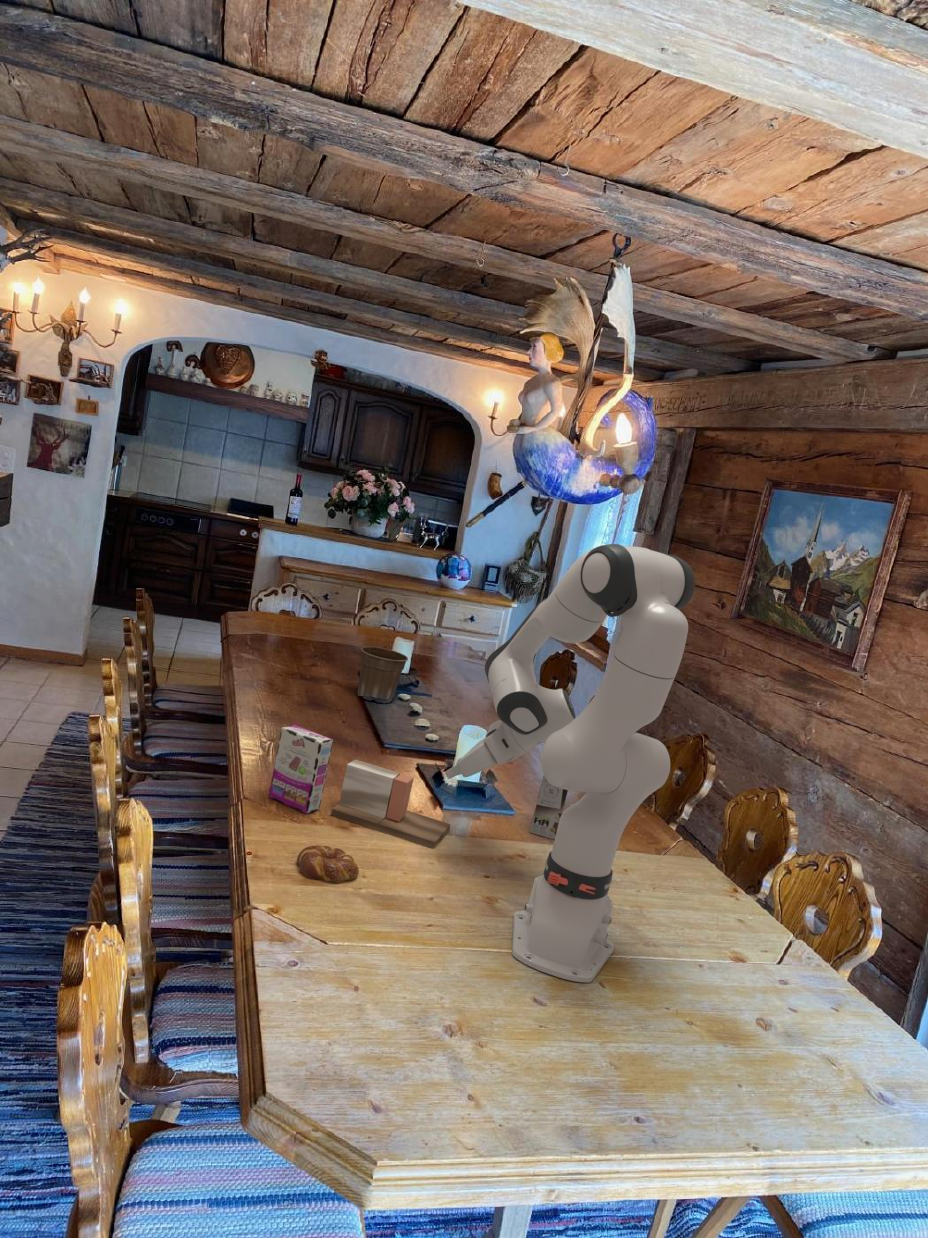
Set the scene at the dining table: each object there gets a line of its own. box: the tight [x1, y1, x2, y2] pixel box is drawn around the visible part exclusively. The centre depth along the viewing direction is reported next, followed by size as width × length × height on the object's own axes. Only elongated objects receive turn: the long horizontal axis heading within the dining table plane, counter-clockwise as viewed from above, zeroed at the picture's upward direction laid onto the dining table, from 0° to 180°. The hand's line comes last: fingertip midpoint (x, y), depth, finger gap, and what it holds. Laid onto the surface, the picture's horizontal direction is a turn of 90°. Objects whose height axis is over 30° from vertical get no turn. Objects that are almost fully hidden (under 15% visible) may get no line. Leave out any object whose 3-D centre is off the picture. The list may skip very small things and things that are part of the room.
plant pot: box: [356, 646, 409, 699], centre depth 290 cm, size 16×16×16 cm
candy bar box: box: [268, 724, 334, 814], centre depth 188 cm, size 11×5×16 cm, turn 62°
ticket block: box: [330, 759, 451, 850], centre depth 190 cm, size 12×24×11 cm, turn 74°
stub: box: [386, 773, 415, 822], centre depth 189 cm, size 4×3×9 cm, turn 164°
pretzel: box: [296, 844, 360, 883], centre depth 162 cm, size 12×11×4 cm
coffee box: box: [529, 775, 569, 841], centre depth 205 cm, size 9×6×16 cm
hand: (453, 769), depth 186 cm, fingers open, 8 cm apart
